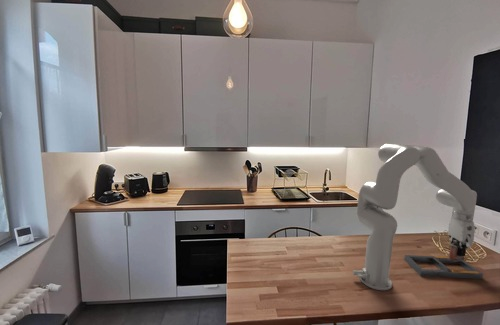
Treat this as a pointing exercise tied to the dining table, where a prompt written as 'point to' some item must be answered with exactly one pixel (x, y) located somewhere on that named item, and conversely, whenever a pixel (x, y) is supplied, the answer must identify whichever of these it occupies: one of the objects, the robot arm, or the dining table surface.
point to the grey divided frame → (442, 267)
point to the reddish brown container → (455, 252)
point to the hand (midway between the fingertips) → (456, 252)
